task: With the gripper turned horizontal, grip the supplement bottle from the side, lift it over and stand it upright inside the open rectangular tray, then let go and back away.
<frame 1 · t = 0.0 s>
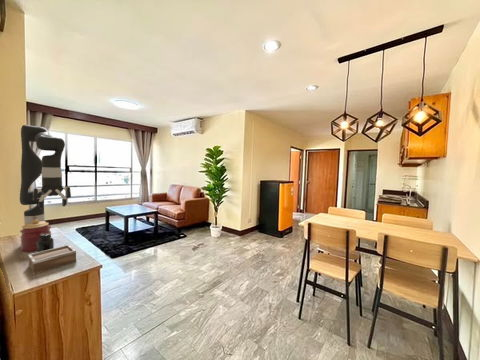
hand: (53, 207, 104), 29 cm above the table, tool pointing down, fingers open, 8 cm apart
open rectangular tray: (53, 263, 104), on the table
supplement bottle: (45, 255, 113), on the table
canister: (36, 248, 121), on the table
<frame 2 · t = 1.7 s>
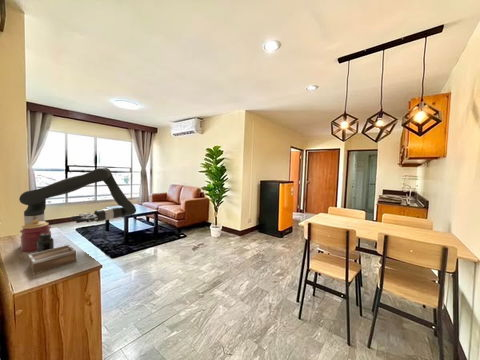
hand: (73, 219, 122), 18 cm above the table, tool horizontal, fingers open, 8 cm apart
nothing on the table moved.
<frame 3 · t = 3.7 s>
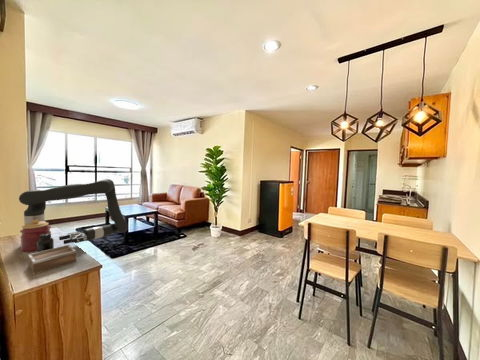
hand: (61, 240, 118), 6 cm above the table, tool horizontal, fingers open, 8 cm apart
nothing on the table moved.
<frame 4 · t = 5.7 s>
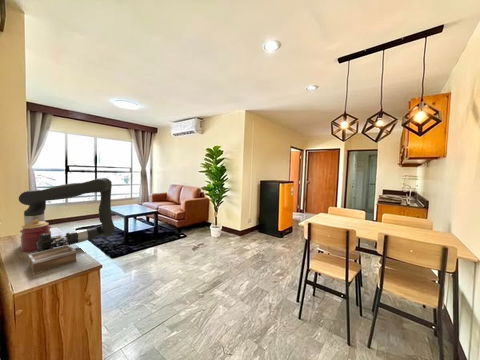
hand: (39, 245, 111), 7 cm above the table, tool horizontal, fingers closed on supplement bottle, 7 cm apart
supplement bottle: (45, 255, 113), on the table, touching gripper
everything else where it was.
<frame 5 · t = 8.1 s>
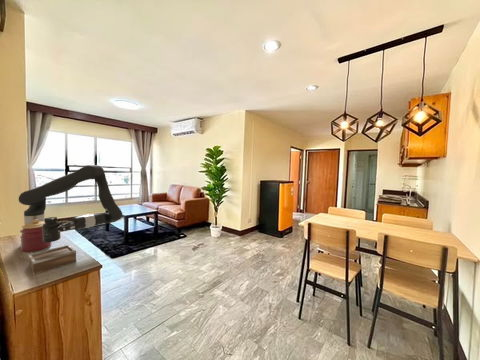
hand: (45, 229, 104), 18 cm above the table, tool horizontal, fingers closed on supplement bottle, 7 cm apart
supplement bottle: (52, 240, 106), point 11 cm above the table, touching gripper
everything else where it was.
when the fingers open (13 cm above the table, at t = 10.4 s): supplement bottle drops 1 cm, resting on open rectangular tray.
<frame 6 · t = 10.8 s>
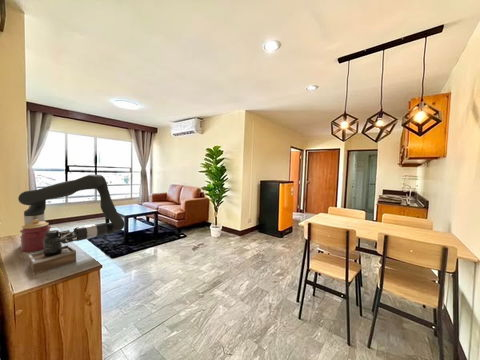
hand: (47, 240, 102), 13 cm above the table, tool horizontal, fingers open, 8 cm apart
supplement bottle: (53, 254, 104), point 5 cm above the table, touching open rectangular tray
everything else where it was.
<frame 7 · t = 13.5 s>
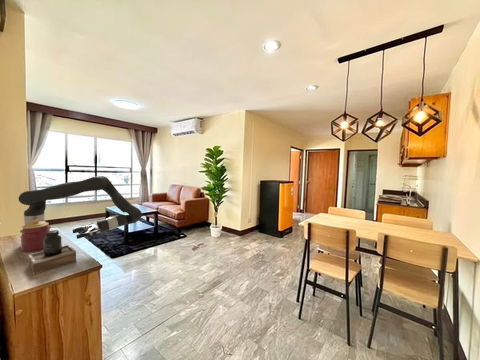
hand: (74, 234, 112), 13 cm above the table, tool horizontal, fingers open, 8 cm apart
nothing on the table moved.
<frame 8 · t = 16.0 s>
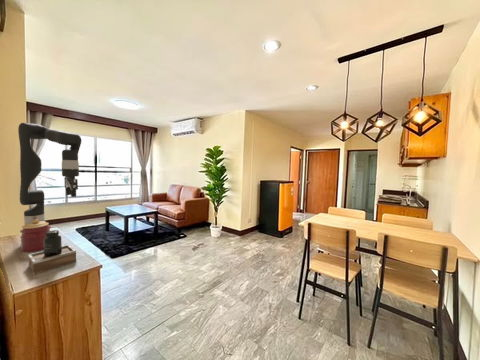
hand: (71, 195, 117), 33 cm above the table, tool pointing down, fingers open, 8 cm apart
nothing on the table moved.
at the end: supplement bottle inside the target area on the open rectangular tray (0.4 cm from its centre), point 4.8 cm above the open rectangular tray's base; supplement bottle tilted 0°; the gripper is holding nothing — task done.
